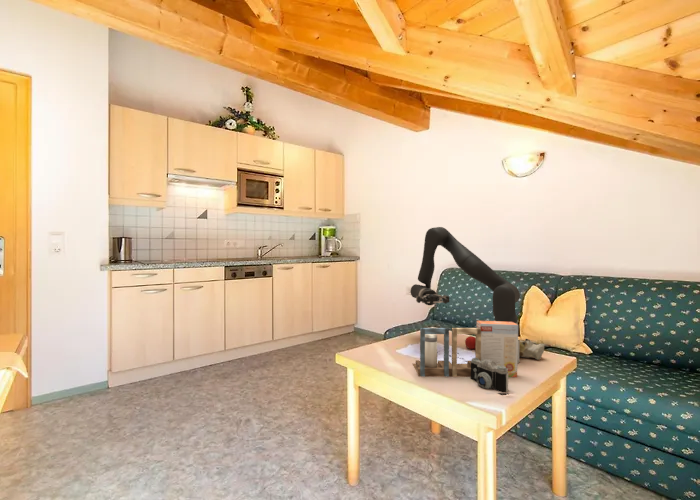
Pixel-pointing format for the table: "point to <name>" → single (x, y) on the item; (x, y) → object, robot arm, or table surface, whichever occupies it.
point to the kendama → (470, 342)
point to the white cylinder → (430, 350)
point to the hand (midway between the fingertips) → (436, 301)
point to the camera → (490, 375)
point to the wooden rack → (447, 354)
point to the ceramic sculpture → (530, 349)
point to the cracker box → (500, 344)
